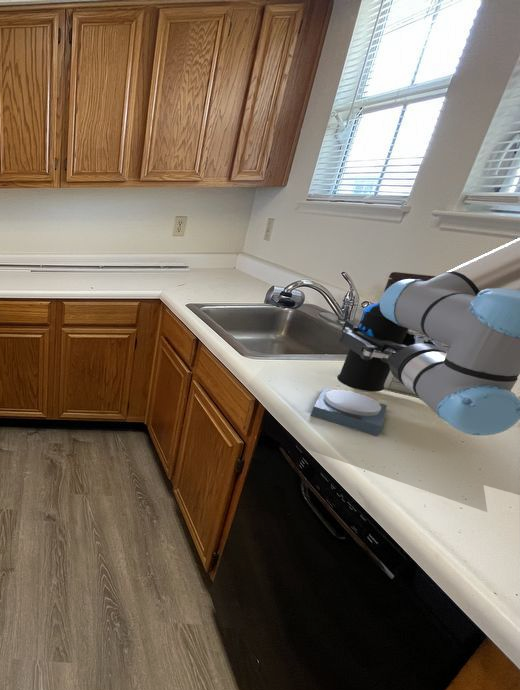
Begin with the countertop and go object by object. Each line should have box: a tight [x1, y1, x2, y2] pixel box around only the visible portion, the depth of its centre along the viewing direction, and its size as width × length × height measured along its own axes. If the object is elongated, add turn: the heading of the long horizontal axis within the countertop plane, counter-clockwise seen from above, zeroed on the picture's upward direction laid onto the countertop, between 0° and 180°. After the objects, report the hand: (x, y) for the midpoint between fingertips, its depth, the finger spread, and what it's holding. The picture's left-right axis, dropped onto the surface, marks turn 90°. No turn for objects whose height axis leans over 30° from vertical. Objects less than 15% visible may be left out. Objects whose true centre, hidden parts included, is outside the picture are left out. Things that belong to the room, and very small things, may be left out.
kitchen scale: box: [310, 387, 388, 437], centre depth 92 cm, size 12×12×3 cm
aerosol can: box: [336, 301, 408, 393], centre depth 86 cm, size 8×8×20 cm
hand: (369, 328), depth 89 cm, fingers closed on aerosol can, 8 cm apart
